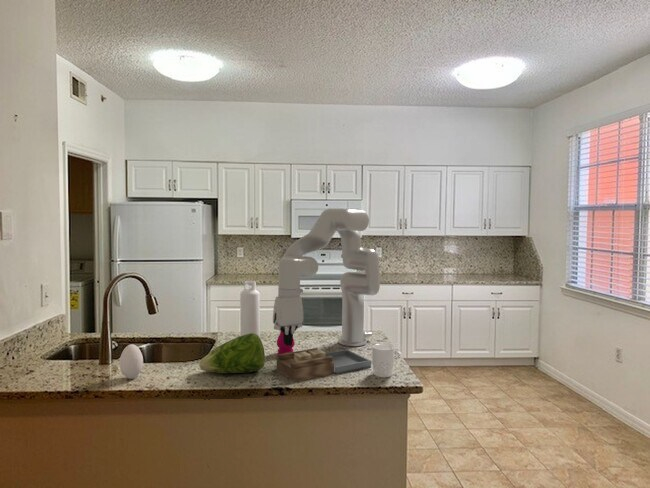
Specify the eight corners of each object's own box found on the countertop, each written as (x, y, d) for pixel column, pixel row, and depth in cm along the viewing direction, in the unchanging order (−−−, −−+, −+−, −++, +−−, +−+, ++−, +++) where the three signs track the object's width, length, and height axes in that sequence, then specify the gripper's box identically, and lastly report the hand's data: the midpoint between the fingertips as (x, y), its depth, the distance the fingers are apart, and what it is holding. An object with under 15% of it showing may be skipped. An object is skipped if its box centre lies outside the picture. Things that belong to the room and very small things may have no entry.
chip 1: (305, 358, 166) (305, 351, 166) (311, 361, 162) (311, 354, 162) (294, 360, 163) (294, 353, 163) (299, 363, 160) (299, 356, 159)
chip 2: (319, 355, 169) (319, 349, 169) (325, 359, 165) (325, 352, 165) (308, 357, 167) (308, 350, 166) (314, 361, 163) (314, 354, 163)
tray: (347, 355, 183) (347, 349, 182) (370, 367, 169) (370, 360, 169) (313, 361, 175) (313, 355, 174) (336, 374, 161) (336, 367, 161)
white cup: (367, 371, 164) (368, 344, 163) (386, 369, 167) (387, 342, 166) (378, 379, 156) (379, 351, 156) (398, 376, 160) (398, 348, 159)
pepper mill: (293, 356, 180) (293, 307, 179) (275, 356, 180) (275, 306, 179) (295, 351, 187) (295, 303, 186) (277, 350, 188) (278, 303, 186)
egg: (124, 374, 158) (123, 341, 157) (146, 374, 159) (145, 341, 158) (116, 382, 151) (115, 347, 150) (139, 382, 151) (138, 347, 151)
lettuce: (205, 379, 167) (198, 343, 167) (267, 363, 170) (260, 329, 171) (199, 388, 153) (192, 349, 153) (268, 371, 156) (260, 333, 157)
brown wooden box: (314, 362, 174) (314, 347, 173) (333, 373, 162) (334, 357, 161) (276, 369, 165) (276, 353, 165) (293, 381, 153) (294, 364, 153)
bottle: (237, 348, 190) (237, 282, 188) (244, 343, 198) (244, 279, 196) (255, 350, 188) (255, 283, 186) (262, 344, 196) (262, 280, 194)
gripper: (302, 290, 165) (301, 339, 166) (264, 292, 157) (264, 344, 158) (312, 293, 159) (311, 344, 160) (273, 296, 151) (273, 350, 152)
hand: (288, 344), depth 159 cm, fingers closed
